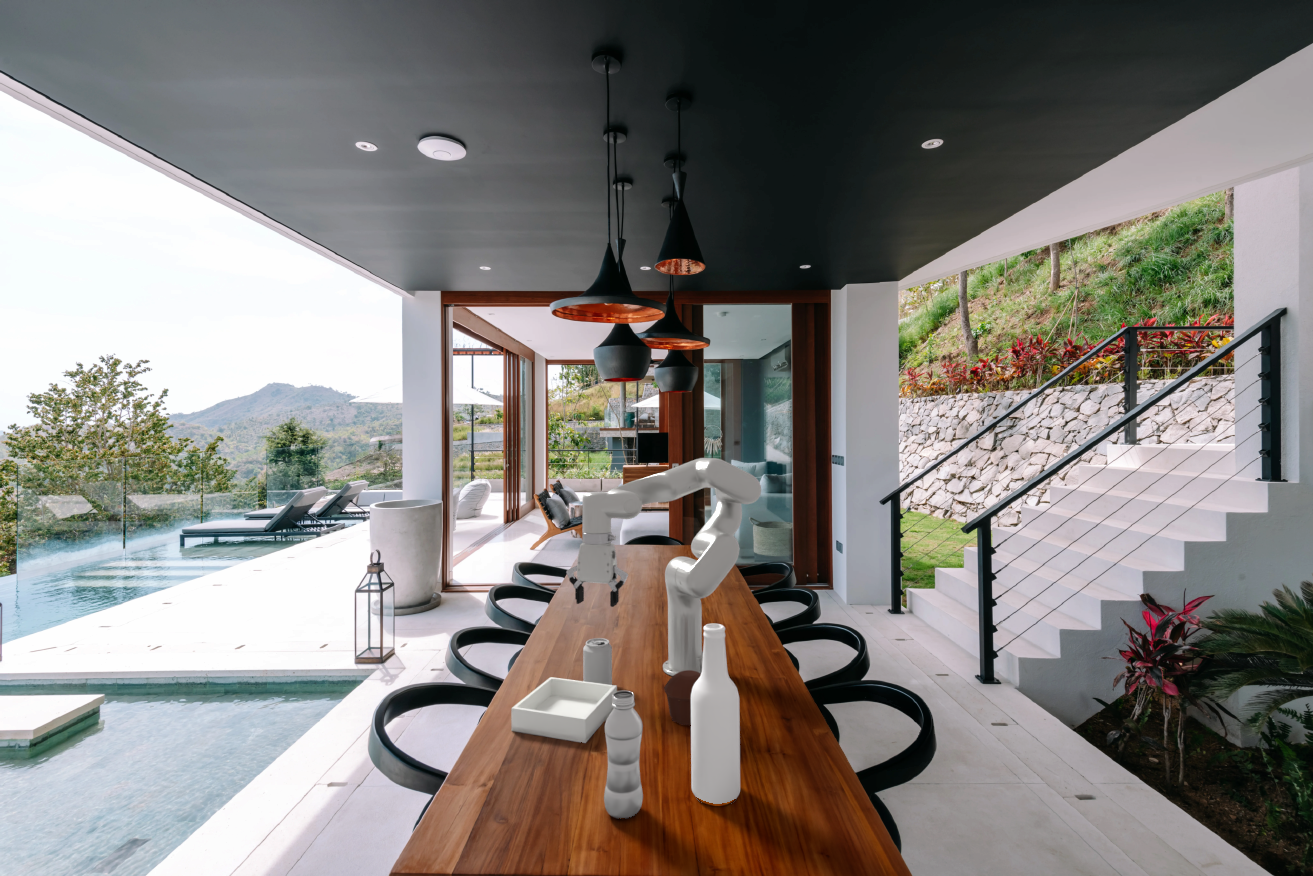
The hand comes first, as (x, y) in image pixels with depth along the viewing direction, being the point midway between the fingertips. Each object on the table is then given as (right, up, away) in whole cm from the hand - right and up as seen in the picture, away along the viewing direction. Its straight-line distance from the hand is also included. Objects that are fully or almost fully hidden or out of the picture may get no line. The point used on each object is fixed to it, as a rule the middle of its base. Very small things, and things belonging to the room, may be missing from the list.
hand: (596, 604), depth 149 cm
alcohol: (+26, -21, -47) cm, 57 cm away
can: (0, -22, 0) cm, 22 cm away
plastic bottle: (+10, -21, -52) cm, 57 cm away
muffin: (+23, -21, -17) cm, 36 cm away
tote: (-5, -21, -18) cm, 28 cm away
